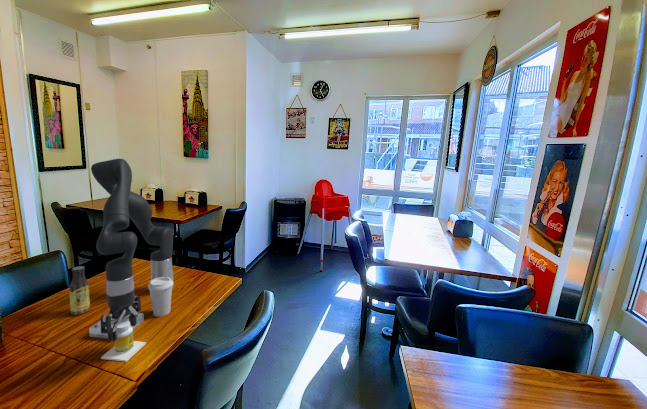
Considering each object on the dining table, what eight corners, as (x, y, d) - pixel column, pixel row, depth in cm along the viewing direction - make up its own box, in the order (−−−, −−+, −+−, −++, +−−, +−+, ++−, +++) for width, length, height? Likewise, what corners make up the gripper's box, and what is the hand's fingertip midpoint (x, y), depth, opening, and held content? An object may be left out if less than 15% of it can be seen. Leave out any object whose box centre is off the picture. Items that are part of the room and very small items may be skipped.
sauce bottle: (78, 317, 110) (74, 272, 107) (66, 314, 111) (62, 270, 108) (94, 308, 117) (91, 266, 113) (83, 306, 118) (79, 264, 115)
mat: (122, 341, 98) (122, 339, 98) (145, 343, 97) (145, 342, 97) (101, 358, 89) (100, 357, 89) (126, 361, 89) (126, 360, 88)
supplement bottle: (117, 345, 95) (115, 321, 93) (135, 342, 97) (133, 318, 95) (113, 356, 90) (111, 330, 88) (132, 351, 92) (130, 326, 91)
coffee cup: (179, 310, 119) (178, 279, 117) (158, 321, 111) (157, 287, 108) (165, 304, 123) (164, 274, 121) (144, 314, 115) (142, 282, 112)
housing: (116, 318, 111) (116, 309, 110) (143, 321, 110) (143, 312, 110) (89, 336, 99) (89, 327, 99) (120, 339, 99) (119, 330, 98)
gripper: (126, 279, 97) (129, 319, 99) (90, 299, 83) (94, 345, 85) (146, 281, 96) (148, 321, 99) (113, 301, 82) (116, 347, 85)
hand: (123, 332), depth 92 cm, fingers open, 8 cm apart
